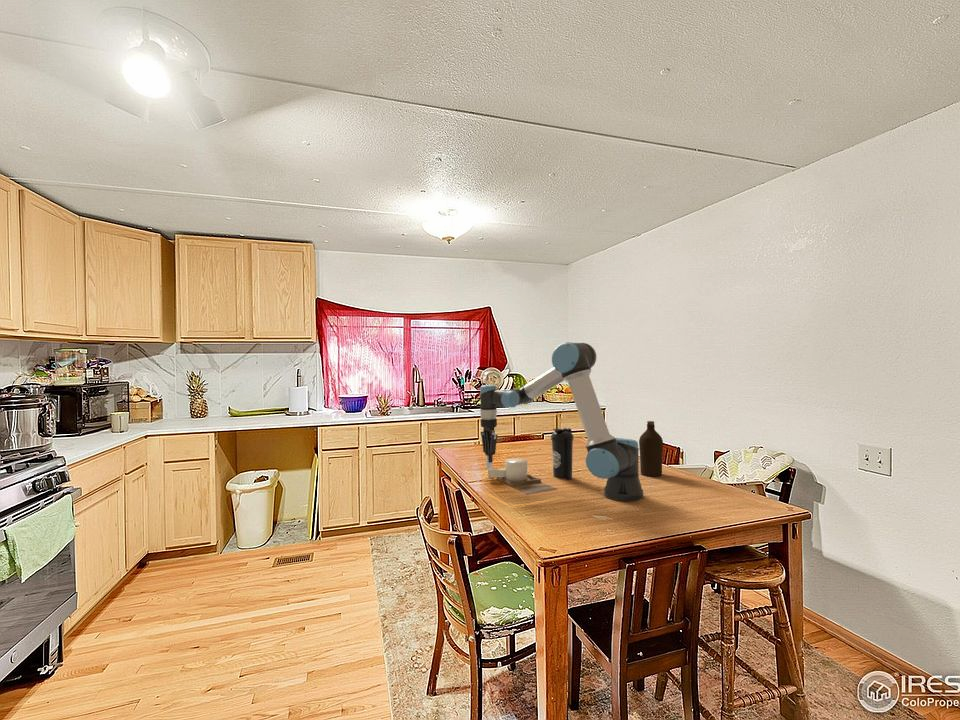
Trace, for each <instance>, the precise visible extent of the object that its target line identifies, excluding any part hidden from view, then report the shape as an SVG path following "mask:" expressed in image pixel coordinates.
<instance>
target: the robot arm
mask: <svg viewBox="0 0 960 720" xmlns="http://www.w3.org/2000/svg"><path fill="white" fill-rule="evenodd" d="M596 362H597V352H596V350H595V348H594V347H593V346H592V345H591V344H589V343H586V342H571V341H570V342H569V341H568V342H564V343H559V344H558V345H557V346H556V347H555V348H554V350H553V352H552V355H551V365H552V366H553V367H552V368H549V369H548V370H547V371H545V372H544V373H541V374H540V375H539V376H537V377H535V379H532V380H531V381H529V382H528V383H525V385H523V386H522V387H520V388H514V389H498V388H497V385H494V384H483V385H481V386H480V393H479V400H480V401H479V402H480V412H479V413H480V427H482V428H483V429H482V431H480V435H481V436H480V437H481V443H482V451H483V453H485V468H486V470H488V469H494V462H493V456H494V455H495V454H496V450H497V440H498V434H495V433H496V432H495V428H496V427H498V419H497V417H498V415H497V414H498V413H497V412H498V409H497V407H501V408H508V409H509V408H515V407H517V406H522V405H528V404H531V403H533V402H534V400H535V399H536V398H537V397H539V396H541V395H543V394H545V393H546V392H547V391H548V392H549V390H551V389H553V388H555V387H556V386H558V385H560V384H561V383H563V382H564V381H565V382H566V383H568V386H569V389H570V391H571V394H572V398H573V400H574V403H575V406H576V409H577V411H578V412H577V413H578V415H579V418H580V420H581V424H582V427H583V429H584V432H585V436H586V439H587V443H586V445H585V448H586V451H587V454H586V457H585V465H586V469H588V471H589V473H591V475H592V476H594V477H596V478H598V479H601V480H602V479H603V480H604V479H607V480H606V484H605V487H604V488H603V489H604V490H603V495H604V496H605V497H606V498H608V499H611V500H615V501H618V502H619V501H620V502H636V501H640V500H642V499H644V489H643V488H642V483H641V481H640V477H639V472H640V471H639V464H640V463H639V462H640V449H639V441H637V440H636V439H630V438H620V437H615V436H613V435H611V434H610V431H609V428H608V425H607V423H606V420H605V416H604V413H603V411H602V408H601V406H600V405H601V404H600V403H599V400H598V398H597V395H596V391H595V389H594V385H593V383H592V380H591V377H590V375H591V372H592V368H593V367H594V366H595V364H596Z"/></svg>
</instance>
